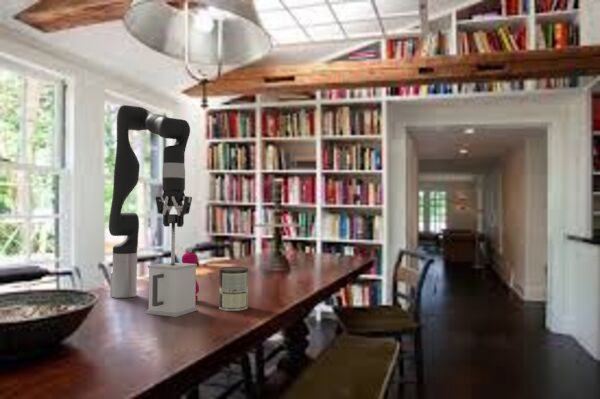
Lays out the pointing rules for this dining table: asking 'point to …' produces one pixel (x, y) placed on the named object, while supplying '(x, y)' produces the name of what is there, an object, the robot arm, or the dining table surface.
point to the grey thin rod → (172, 235)
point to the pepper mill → (191, 259)
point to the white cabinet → (172, 289)
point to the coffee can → (233, 288)
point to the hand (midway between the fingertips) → (173, 226)
